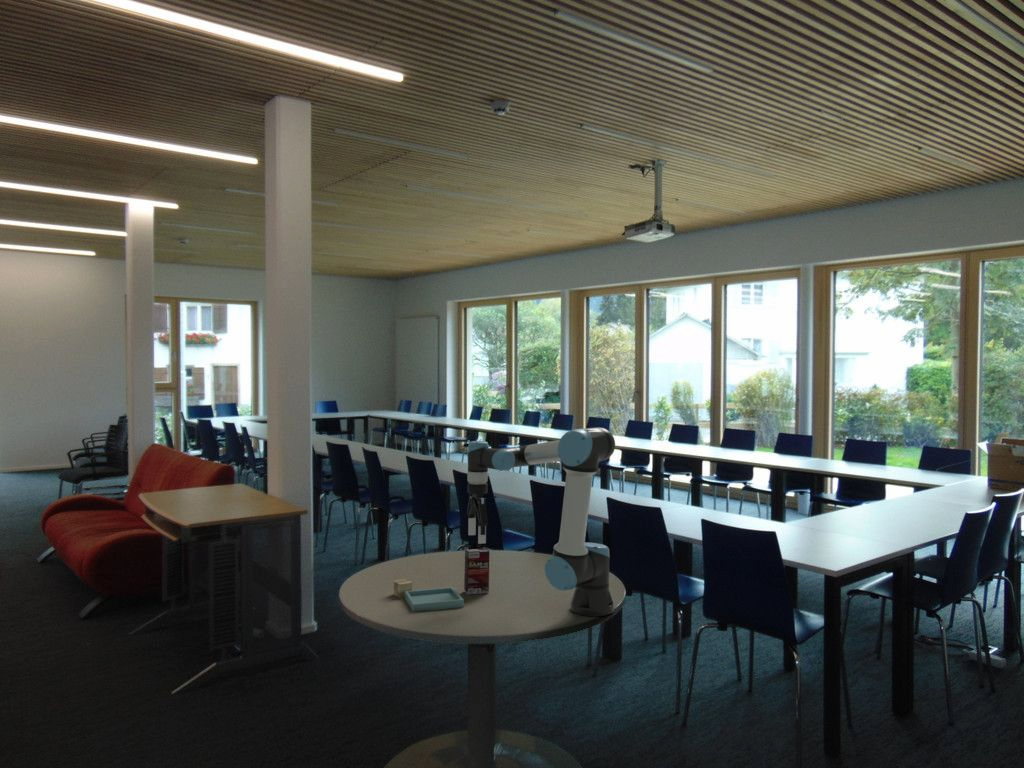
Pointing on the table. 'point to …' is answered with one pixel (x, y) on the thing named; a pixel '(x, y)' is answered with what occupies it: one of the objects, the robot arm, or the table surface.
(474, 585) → the supplement box
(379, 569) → the table surface
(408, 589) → the oak cube
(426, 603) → the tray
